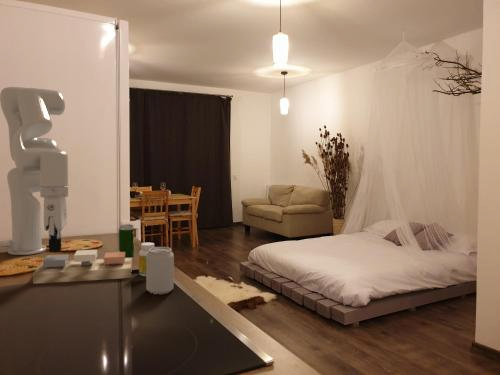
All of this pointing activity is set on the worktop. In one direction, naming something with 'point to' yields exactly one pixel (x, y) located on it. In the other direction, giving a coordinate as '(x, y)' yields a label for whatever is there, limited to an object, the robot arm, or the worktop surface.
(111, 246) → the worktop surface
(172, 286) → the can
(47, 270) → the button board
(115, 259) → the terracotta tile
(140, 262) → the supplement bottle
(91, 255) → the cream tile
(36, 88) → the robot arm
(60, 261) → the slate tile
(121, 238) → the beer can
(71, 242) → the worktop surface
